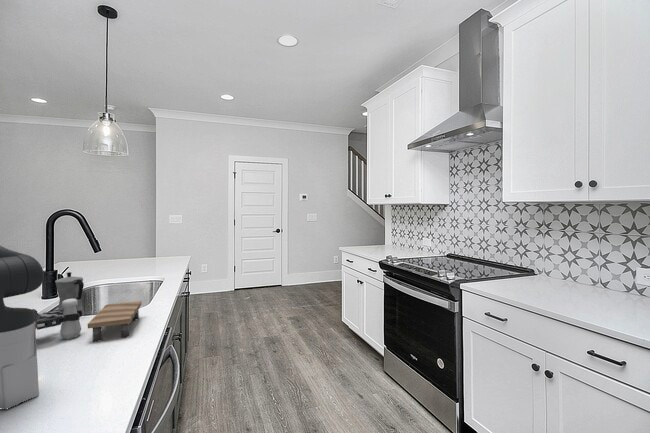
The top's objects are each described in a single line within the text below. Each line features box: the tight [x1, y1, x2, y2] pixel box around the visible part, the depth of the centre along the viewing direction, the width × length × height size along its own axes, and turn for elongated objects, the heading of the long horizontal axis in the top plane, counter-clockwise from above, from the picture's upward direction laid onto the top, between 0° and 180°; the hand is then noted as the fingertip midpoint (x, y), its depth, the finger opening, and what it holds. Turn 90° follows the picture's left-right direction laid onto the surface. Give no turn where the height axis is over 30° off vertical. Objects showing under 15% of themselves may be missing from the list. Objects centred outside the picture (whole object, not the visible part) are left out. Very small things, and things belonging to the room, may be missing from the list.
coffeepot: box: [55, 271, 85, 315], centre depth 133 cm, size 15×9×18 cm, turn 66°
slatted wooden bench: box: [87, 300, 142, 343], centre depth 119 cm, size 22×12×6 cm, turn 21°
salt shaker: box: [59, 299, 82, 340], centre depth 112 cm, size 6×6×13 cm
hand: (80, 314), depth 113 cm, fingers closed on salt shaker, 3 cm apart
